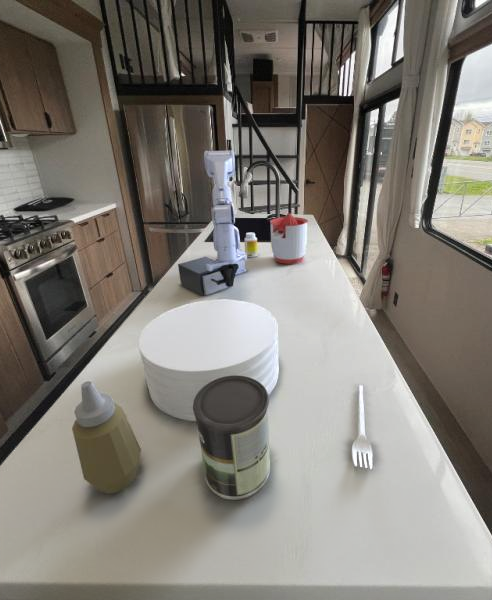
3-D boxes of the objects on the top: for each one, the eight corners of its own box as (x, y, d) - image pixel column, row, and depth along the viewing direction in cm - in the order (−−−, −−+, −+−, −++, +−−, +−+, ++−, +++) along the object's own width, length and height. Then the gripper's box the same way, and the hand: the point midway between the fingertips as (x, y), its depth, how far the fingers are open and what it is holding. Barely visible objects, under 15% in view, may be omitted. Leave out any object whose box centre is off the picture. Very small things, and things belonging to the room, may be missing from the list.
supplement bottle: (260, 255, 146) (259, 233, 142) (250, 258, 143) (248, 235, 139) (252, 253, 150) (251, 231, 146) (243, 255, 147) (241, 233, 143)
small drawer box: (229, 286, 116) (227, 264, 112) (201, 296, 109) (198, 273, 105) (208, 276, 125) (205, 256, 121) (181, 285, 118) (177, 264, 114)
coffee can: (201, 504, 46) (187, 432, 39) (208, 443, 55) (197, 377, 49) (274, 497, 46) (271, 425, 40) (268, 438, 55) (265, 372, 49)
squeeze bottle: (156, 461, 52) (133, 371, 44) (120, 509, 45) (84, 413, 37) (116, 447, 54) (87, 360, 47) (76, 492, 48) (34, 398, 40)
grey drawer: (240, 289, 110) (238, 272, 108) (214, 299, 104) (212, 281, 101) (211, 277, 122) (209, 261, 119) (187, 284, 115) (184, 268, 113)
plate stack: (184, 334, 87) (178, 295, 82) (287, 344, 81) (287, 303, 76) (120, 410, 62) (106, 361, 57) (262, 432, 57) (259, 380, 52)
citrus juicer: (261, 263, 137) (259, 215, 128) (283, 252, 150) (283, 208, 141) (292, 270, 129) (293, 219, 120) (313, 258, 142) (315, 211, 133)
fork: (368, 388, 66) (369, 381, 65) (373, 478, 48) (375, 469, 48) (352, 386, 67) (353, 379, 66) (351, 473, 49) (352, 465, 48)
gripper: (213, 253, 92) (218, 296, 98) (252, 242, 101) (254, 282, 107) (200, 248, 96) (205, 289, 102) (238, 238, 105) (240, 277, 111)
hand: (229, 285), depth 105 cm, fingers closed, pressing on grey drawer
